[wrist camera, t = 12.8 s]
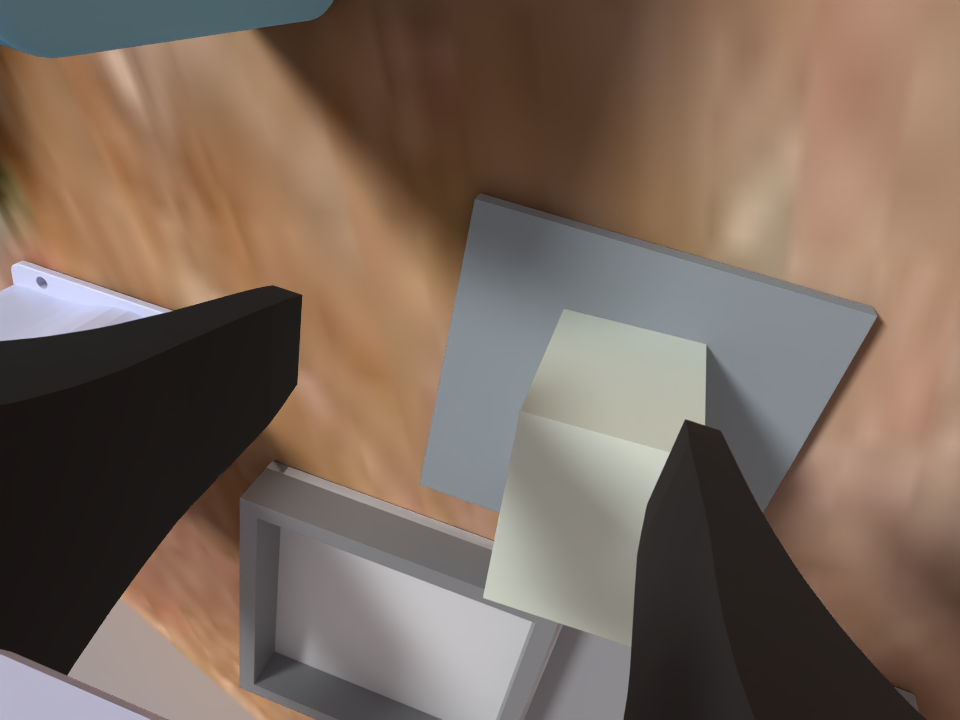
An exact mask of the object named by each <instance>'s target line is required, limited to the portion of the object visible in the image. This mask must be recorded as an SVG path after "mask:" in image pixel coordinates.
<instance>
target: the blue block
mask: <svg viewBox="0 0 960 720" xmlns="http://www.w3.org/2000/svg"><path fill="white" fill-rule="evenodd" d="M333 1H334V0H0V44H1V45H3V46H6V47H9V48H12V49H15V50H18V51H21V52H24V53H27V54H31V55H34V56H38V57H47V58H58V57H68V56H74V55H81V54H88V53H95V52H101V51H108V50H115V49H121V48H128V47H135V46H142V45H148V44H155V43H162V42H169V41H175V40H182V39H189V38H196V37H202V36H209V35H216V34H222V33H229V32H236V31H243V30H249V29H256V28H263V27H270V26H276V25H283V24H290V23H296V22H303V21H310V20H314V19H316V18H318V17H320V16H321V15H322V14H324V13H325V12H326V11H327V9H328V8H329V7H330V5H331V4H332V2H333Z"/></svg>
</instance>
